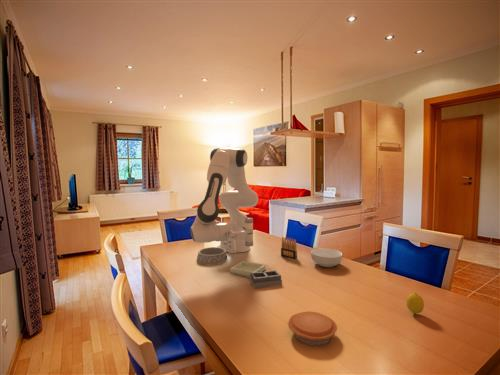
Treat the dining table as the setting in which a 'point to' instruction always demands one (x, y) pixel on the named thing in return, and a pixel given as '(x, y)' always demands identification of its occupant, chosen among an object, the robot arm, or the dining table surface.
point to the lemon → (415, 303)
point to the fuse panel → (265, 279)
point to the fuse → (249, 236)
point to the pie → (312, 327)
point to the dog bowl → (211, 255)
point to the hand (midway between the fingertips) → (250, 229)
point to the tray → (247, 268)
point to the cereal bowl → (326, 257)
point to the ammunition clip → (289, 248)
